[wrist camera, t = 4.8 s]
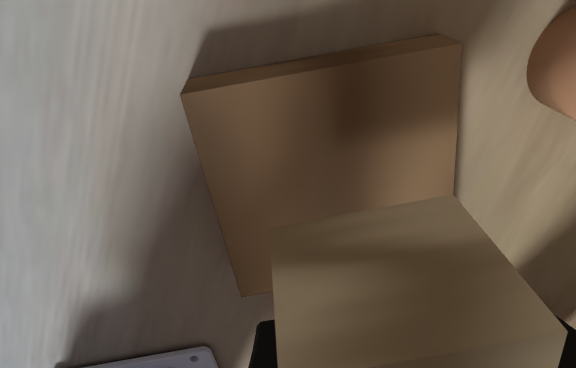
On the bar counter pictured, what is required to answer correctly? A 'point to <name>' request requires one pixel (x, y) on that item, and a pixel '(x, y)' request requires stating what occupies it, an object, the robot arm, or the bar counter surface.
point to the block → (405, 294)
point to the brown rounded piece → (555, 65)
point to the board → (323, 140)
